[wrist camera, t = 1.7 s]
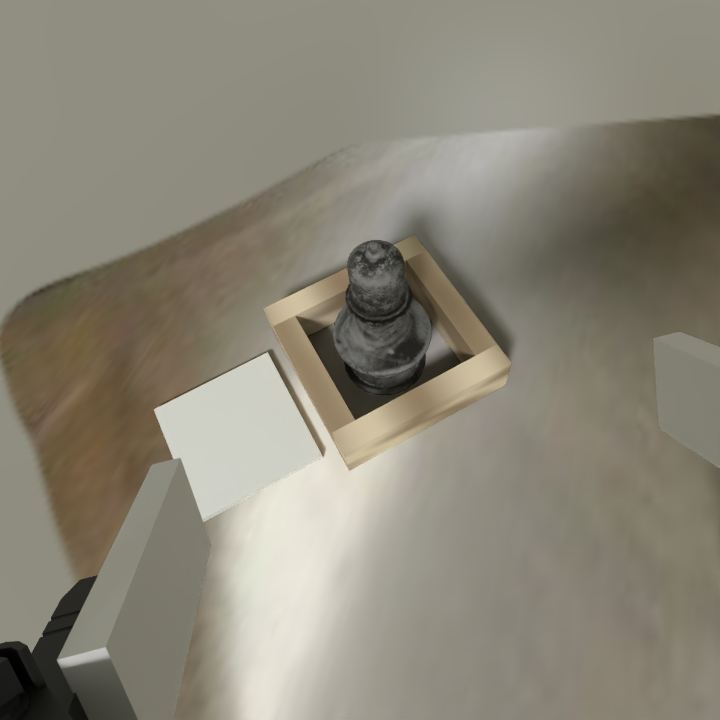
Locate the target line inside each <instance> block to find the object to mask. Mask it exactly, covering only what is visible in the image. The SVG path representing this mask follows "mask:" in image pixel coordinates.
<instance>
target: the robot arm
mask: <svg viewBox="0 0 720 720" xmlns="http://www.w3.org/2000/svg"><path fill="white" fill-rule="evenodd" d="M653 345H654V360H655V375H656V389H657V404H658V419H659V429H661V430H662V431H664V432H665V433H667V434H668V435H670V436H671V437H673V438H674V439H676V440H677V441H679V442H680V443H682V444H683V445H685V446H686V447H688V448H689V449H691V450H692V451H694V452H695V453H697V454H698V455H700V456H701V457H703V458H704V459H706V460H707V461H709V462H710V463H712V464H713V465H715V466H716V467H718V468H719V469H720V347H718V346H716V345H713V344H710V343H708V342H705V341H703V340H700V339H697V338H695V337H692V336H690V335H687V334H684V333H682V332H676V333H672V334H668V335H664V336H661V337H657V338H653ZM210 548H211V542H210V540H209V537H208V534H207V531H206V528H205V525H204V523H203V520H202V517H201V514H200V511H199V509H198V506H197V503H196V500H195V497H194V494H193V492H192V489H191V486H190V483H189V480H188V477H187V475H186V472H185V469H184V466H183V463H182V460H181V458H177V459H173V460H169V461H165V462H161V463H157V464H153V465H152V466H151V468H150V470H149V472H148V474H147V476H146V478H145V480H144V482H143V484H142V486H141V488H140V490H139V492H138V494H137V496H136V498H135V500H134V502H133V505H132V507H131V509H130V511H129V513H128V515H127V517H126V519H125V521H124V523H123V525H122V527H121V529H120V531H119V533H118V535H117V537H116V539H115V542H114V544H113V546H112V548H111V550H110V552H109V554H108V556H107V558H106V560H105V562H104V564H103V566H102V568H101V570H100V572H99V574H98V575H97V576H93V577H89V578H85V579H82V580H79V581H78V582H77V583H76V584H75V585H74V586H73V588H72V589H71V590H70V591H69V592H68V593H67V594H66V595H65V596H64V597H63V598H62V599H61V600H60V602H59V604H58V606H57V608H56V610H55V611H54V613H53V615H52V617H51V621H50V622H48V624H47V626H46V628H45V630H44V631H43V633H42V634H43V637H41V638H40V639H39V641H38V642H37V644H36V646H35V648H34V650H33V652H32V653H31V652H30V650H29V648H28V646H27V645H25V644H23V643H21V642H19V641H16V642H4V643H1V644H0V720H174V715H175V711H176V706H177V701H178V697H179V692H180V687H181V683H182V678H183V673H184V669H185V664H186V660H187V655H188V650H189V646H190V641H191V636H192V632H193V627H194V622H195V618H196V613H197V609H198V604H199V599H200V595H201V590H202V585H203V581H204V576H205V571H206V567H207V562H208V557H209V553H210Z"/></svg>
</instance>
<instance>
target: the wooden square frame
mask: <svg viewBox="0 0 720 720" xmlns="http://www.w3.org/2000/svg"><path fill="white" fill-rule="evenodd" d="M394 246H395V247H397V248H398V249H399V251H400V252H401V254H402V256H403V259H404V262H405V279H406V280H407V281H408V283H409V284H410V286H411V289H412V294H413V296H414V297H415V299H416V300H417V301H418V303H420V304H421V305H422V306H423V308H424V309H425V311H426V313H427V314H428V316H429V318H430V320H431V321H432V323H433V324H434V326H435V327H436V328H437V330H438V331H439V333H440V334H441V335H442V337H443V338H444V340H445V341H446V343H447V344H448V345H449V347H450V348H451V350H452V351H453V352H454V354H455V355H456V357H457V358H458V359H459V361H460V362H461V364H459V365H457V366H456V367H454V368H452V369H450V370H448V371H446V372H444V373H443V374H441V375H439V376H437V377H435V378H433V379H431V380H429V381H428V382H426V383H424V384H422V385H420V386H418V387H416V388H415V389H413V390H411V391H409V392H407V393H405V394H403V395H401V396H400V397H398V398H396V399H394V400H392V401H390V402H388V403H386V404H385V405H383V406H381V407H379V408H377V409H375V410H373V411H372V412H370V413H368V414H366V415H364V416H362V417H360V418H358V419H357V420H355V419H354V417H353V415H352V414H351V412H350V410H349V409H348V407H347V405H346V403H345V402H344V400H343V398H342V396H341V395H340V393H339V391H338V389H337V388H336V386H335V384H334V382H333V381H332V379H331V377H330V376H329V374H328V372H327V370H326V369H325V367H324V365H323V363H322V362H321V360H320V358H319V356H318V355H317V353H316V351H315V349H314V348H313V346H312V344H311V343H310V341H309V339H308V337H307V336H309V335H311V334H313V333H315V332H317V331H319V330H321V329H323V328H325V327H327V326H329V325H331V324H333V323H335V321H336V318H337V316H338V314H339V312H340V311H341V310H342V309H343V307H344V306H345V305H346V301H345V294H346V290H347V287H348V285H349V283H350V282H349V277H348V271H347V268H345V269H343V270H341V271H339V272H337V273H335V274H333V275H331V276H329V277H327V278H325V279H323V280H321V281H319V282H317V283H315V284H312V285H310V286H308V287H306V288H304V289H302V290H300V291H298V292H296V293H294V294H292V295H290V296H288V297H286V298H284V299H282V300H280V301H278V302H276V303H274V304H272V305H270V306H268V307H266V308H264V311H265V313H266V315H267V318H268V320H269V322H270V325H271V327H272V329H273V332H274V334H275V335H276V337H277V339H278V341H279V343H280V345H281V346H282V348H283V350H284V352H285V354H286V356H287V357H288V359H289V361H290V363H291V365H292V367H293V368H294V370H295V372H296V374H297V376H298V377H299V379H300V381H301V383H302V385H303V387H304V388H305V390H306V392H307V394H308V396H309V398H310V399H311V401H312V403H313V405H314V407H315V409H316V410H317V412H318V414H319V416H320V418H321V420H322V421H323V423H324V425H325V427H326V429H327V431H328V432H329V434H330V436H331V438H332V440H333V442H334V443H335V445H336V447H337V449H338V451H339V453H340V454H341V456H342V458H343V460H344V462H345V464H346V465H347V467H348V469H349V470H351V469H353V468H355V467H357V466H359V465H360V464H362V463H364V462H366V461H368V460H369V459H371V458H373V457H375V456H377V455H379V454H380V453H382V452H384V451H386V450H388V449H390V448H391V447H393V446H395V445H397V444H399V443H400V442H402V441H404V440H406V439H408V438H410V437H411V436H413V435H415V434H417V433H419V432H420V431H422V430H424V429H426V428H428V427H430V426H431V425H433V424H435V423H437V422H439V421H440V420H442V419H444V418H446V417H448V416H450V415H451V414H453V413H455V412H457V411H459V410H461V409H462V408H464V407H466V406H468V405H470V404H471V403H473V402H475V401H477V400H479V399H481V398H482V397H484V396H486V395H488V394H490V393H491V392H493V391H495V390H497V389H499V388H501V387H502V386H504V385H505V383H506V380H507V378H508V375H509V372H510V369H511V366H512V363H511V362H510V360H509V359H508V358H507V356H506V355H505V354H504V352H503V351H502V350H501V348H500V347H499V346H498V344H497V343H496V342H495V340H494V339H493V338H492V337H491V335H490V334H489V333H488V331H487V330H486V329H485V327H484V326H483V325H482V323H481V322H480V321H479V319H478V318H477V317H476V315H475V314H474V313H473V311H472V310H471V309H470V307H469V306H468V305H467V303H466V302H465V301H464V299H463V298H462V297H461V295H460V294H459V293H458V291H457V290H456V289H455V287H454V286H453V285H452V283H451V282H450V281H449V280H448V278H447V277H446V276H445V274H444V273H443V272H442V270H441V269H440V268H439V266H438V265H437V264H436V262H435V261H434V260H433V258H432V257H431V256H430V254H429V253H428V252H427V250H426V249H425V248H424V246H423V245H422V244H421V242H420V241H419V240H418V238H417V237H416V236H415V234H414V235H412V236H410V237H408V238H406V239H404V240H402V241H400V242H398V243H396V244H394Z"/></svg>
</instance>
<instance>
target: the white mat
mask: <svg viewBox="0 0 720 720" xmlns="http://www.w3.org/2000/svg"><path fill="white" fill-rule="evenodd" d="M154 411H155V414H156V416H157V419H158V421H159V424H160V426H161V429H162V431H163V434H164V436H165V439H166V441H167V444H168V446H169V449H170V451H171V454H172V456H173V459H177V458H181V460H182V463H183V466H184V469H185V472H186V475H187V477H188V480H189V483H190V486H191V489H192V492H193V494H194V497H195V500H196V503H197V506H198V509H199V511H200V514H201V517H202V520H203V522H205V521H207V520H208V519H210V518H212V517H214V516H216V515H218V514H220V513H221V512H223V511H225V510H227V509H229V508H231V507H232V506H234V505H236V504H238V503H240V502H242V501H244V500H245V499H247V498H249V497H251V496H253V495H255V494H256V493H258V492H260V491H262V490H264V489H266V488H268V487H269V486H271V485H273V484H275V483H277V482H279V481H281V480H282V479H284V478H286V477H288V476H290V475H292V474H293V473H295V472H297V471H299V470H301V469H303V468H305V467H306V466H308V465H310V464H312V463H314V462H316V461H317V460H319V459H321V458H323V456H322V454H321V452H320V450H319V448H318V446H317V444H316V443H315V441H314V439H313V437H312V435H311V433H310V431H309V429H308V428H307V426H306V424H305V422H304V420H303V418H302V416H301V414H300V412H299V411H298V409H297V407H296V405H295V403H294V401H293V399H292V397H291V395H290V394H289V392H288V390H287V388H286V386H285V384H284V382H283V380H282V378H281V377H280V375H279V373H278V371H277V369H276V367H275V365H274V363H273V361H272V360H271V358H270V356H269V354H268V352H267V353H265V354H263V355H261V356H259V357H257V358H255V359H253V360H251V361H249V362H247V363H245V364H243V365H241V366H239V367H237V368H235V369H233V370H231V371H229V372H227V373H225V374H223V375H221V376H219V377H217V378H215V379H213V380H211V381H209V382H207V383H205V384H203V385H201V386H199V387H197V388H195V389H193V390H191V391H189V392H187V393H185V394H183V395H181V396H179V397H177V398H176V399H174V400H172V401H170V402H168V403H166V404H164V405H162V406H160V407H158V408H156V409H154Z"/></svg>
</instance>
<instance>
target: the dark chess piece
mask: <svg viewBox="0 0 720 720" xmlns="http://www.w3.org/2000/svg"><path fill="white" fill-rule="evenodd" d="M347 271H348V277H349V282H350V283H349V285H348V287H347V290H346V294H345V301H346V305H345V306H344V307H343V309H342V310H341V311H340V312H339V314H338V316H337V318H336V321H335V323H334V330H333V338H334V343H335V347H336V349H337V351H338V353H339V355H340V357H341V358H342V359H343V360H344V363H345V368H346V372H347V373H348V375H349V377H350V379H351V380H352V381H353V382H354V383H355V384H356V385H357V386H358V387H360V388H361V389H363V390H365V391H366V392H370V393H373V394H377V395H390V394H395V393H399V392H401V391H403V390H405V389H407V388H409V387H410V386H411V385H412V384H414V383H415V382H416V381H417V380H418V378H419V377H420V375H421V374H422V372H423V368H424V365H425V352H426V351H427V350H428V347H429V344H430V341H431V323H430V319H429V316H428V314H427V313H426V311H425V309H424V308H423V306H422V305H421V304H420V303H418V302H417V301H416V300H415V299H414V298H412V289H411V286H410V284H409V283H408V281H407V280H406V279H405V262H404V259H403V256H402V254H401V252H400V251H399V249H398V248H397V247H395V246H394V245H393V244H390V243H388V242H386V241H381V240H371V241H367V242H364V243H362V244H360V245H359V246H357V247H356V248H355V249H354V250H353V251H352V252H351V254H350V256H349V258H348V264H347Z"/></svg>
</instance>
